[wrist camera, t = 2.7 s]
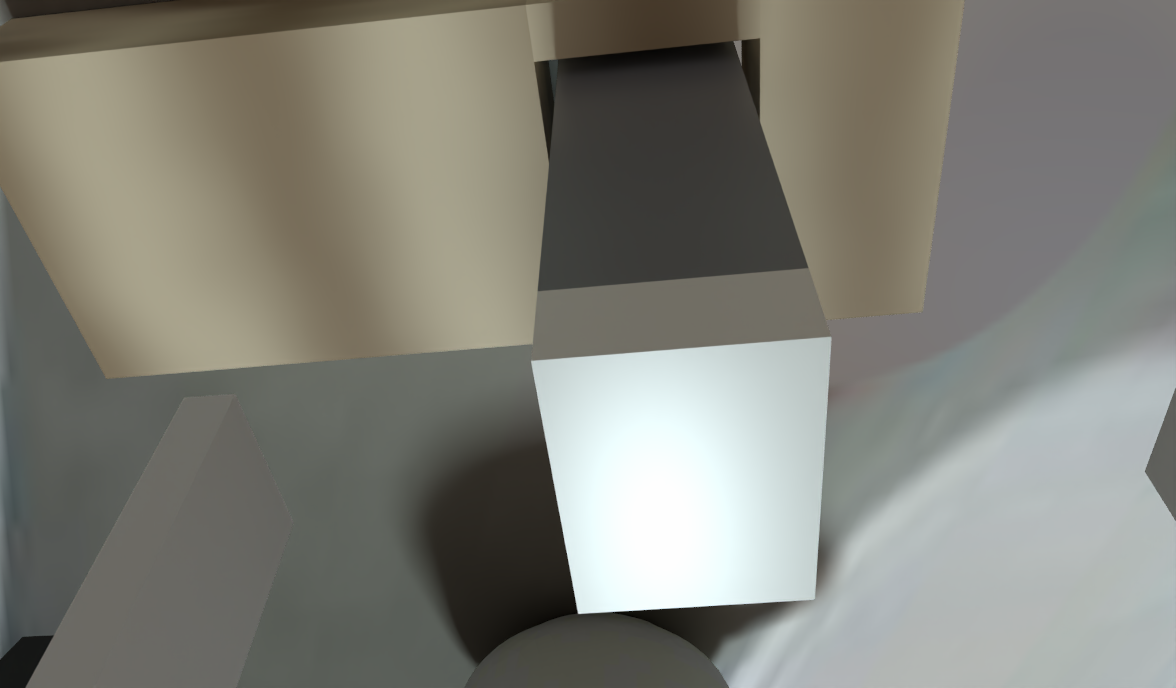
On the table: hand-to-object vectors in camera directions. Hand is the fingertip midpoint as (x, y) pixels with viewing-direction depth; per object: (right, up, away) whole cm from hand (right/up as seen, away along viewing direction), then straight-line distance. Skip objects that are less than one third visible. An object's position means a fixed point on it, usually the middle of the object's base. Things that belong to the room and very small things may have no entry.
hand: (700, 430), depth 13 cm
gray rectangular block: (0, +6, +9) cm, 11 cm away
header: (-4, +6, +9) cm, 12 cm away
